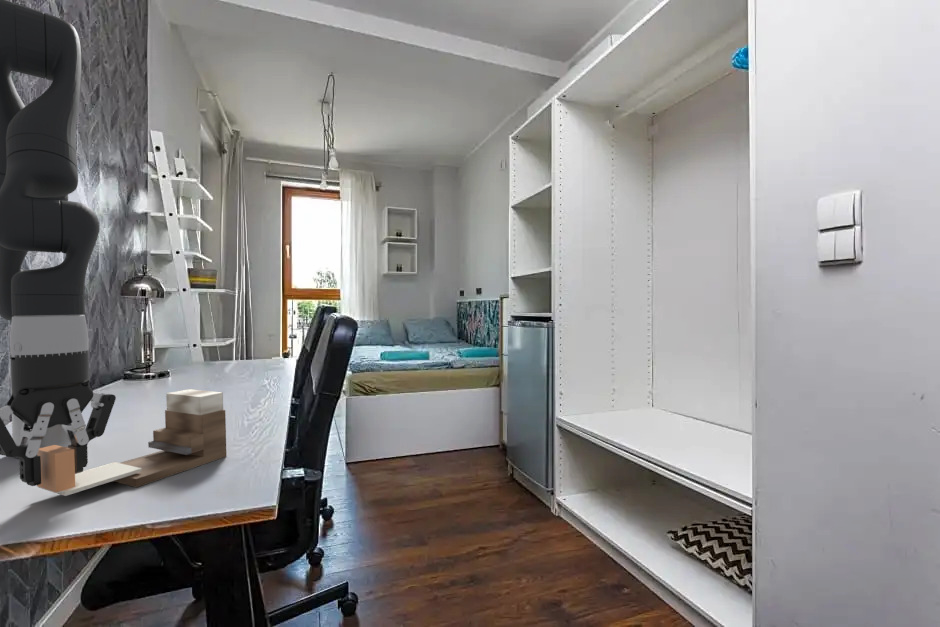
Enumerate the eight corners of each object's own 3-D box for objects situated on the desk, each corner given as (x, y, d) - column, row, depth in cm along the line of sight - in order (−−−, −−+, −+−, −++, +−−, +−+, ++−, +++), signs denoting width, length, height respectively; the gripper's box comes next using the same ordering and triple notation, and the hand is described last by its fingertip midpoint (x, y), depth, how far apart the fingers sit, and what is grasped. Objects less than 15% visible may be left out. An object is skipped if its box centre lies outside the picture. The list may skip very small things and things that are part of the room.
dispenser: (97, 477, 67) (95, 405, 67) (189, 449, 80) (187, 389, 80) (136, 487, 63) (134, 410, 63) (226, 456, 76) (224, 392, 75)
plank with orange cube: (33, 488, 59) (32, 448, 59) (114, 465, 68) (113, 429, 68) (60, 497, 56) (59, 454, 56) (141, 471, 65) (140, 434, 65)
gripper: (99, 344, 66) (102, 457, 67) (-40, 354, 53) (-35, 494, 54) (127, 345, 63) (131, 464, 63) (-12, 356, 50) (-7, 505, 50)
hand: (55, 477), depth 58 cm, fingers open, 4 cm apart
